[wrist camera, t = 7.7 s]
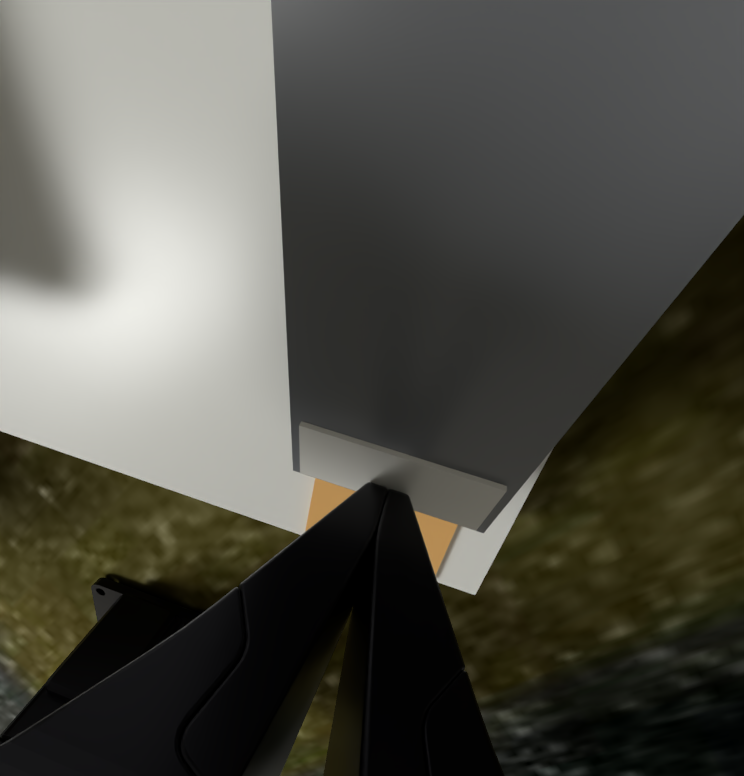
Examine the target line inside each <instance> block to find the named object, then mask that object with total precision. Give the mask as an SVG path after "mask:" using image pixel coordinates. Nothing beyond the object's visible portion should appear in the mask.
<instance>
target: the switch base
mask: <svg viewBox="0 0 744 776" xmlns="http://www.w3.org/2000/svg"><path fill="white" fill-rule="evenodd" d="M0 431H2V432H4V433H7V434H10V435H13V436H16V437H19V438H22V439H25V440H28V441H30V442H33V443H36V444H39V445H42V446H45V447H48V448H51V449H54V450H57V451H59V452H62V453H65V454H68V455H71V456H74V457H77V458H80V459H83V460H85V461H88V462H91V463H94V464H97V465H100V466H103V467H106V468H109V469H111V470H114V471H117V472H120V473H123V474H126V475H129V476H132V477H135V478H138V479H140V480H143V481H146V482H149V483H152V484H155V485H158V486H161V487H164V488H166V489H169V490H172V491H175V492H178V493H181V494H184V495H187V496H190V497H192V498H195V499H198V500H201V501H204V502H207V503H210V504H213V505H216V506H218V507H221V508H224V509H227V510H230V511H233V512H236V513H239V514H242V515H245V516H247V517H250V518H253V519H256V520H259V521H262V522H265V523H268V524H271V525H273V526H276V527H279V528H282V529H285V530H288V531H291V532H294V533H297V534H299V535H302V534H303V533H304V532H305V531H307V530H308V529H309V528H311V527H312V526H313V525H314V524H316V523H317V522H318V521H319V520H321V519H322V518H323V517H324V516H326V515H327V514H328V513H329V512H331V511H332V510H333V509H334V508H336V507H337V506H338V505H339V504H341V503H342V502H343V501H344V500H346V499H347V498H348V497H349V496H351V495H352V494H353V493H354V492H356V491H353V490H350V489H347V488H344V487H341V486H338V485H335V484H332V483H329V482H326V481H323V480H320V479H317V478H314V477H311V476H308V475H305V474H302V473H299V472H296V471H293V461H292V439H291V418H290V397H289V375H288V354H287V333H286V311H285V290H284V269H283V247H282V226H281V204H280V183H279V162H278V140H277V119H276V98H275V76H274V55H273V34H272V12H271V0H0ZM551 451H552V450H551ZM551 451H550V453H551ZM550 453H549V454H548V455H547V456H546V458H545V459H544V460H543V461H542V462H541V464H540V465H539V466H538V467H537V469H536V470H535V471H534V472H533V473H532V475H531V476H530V477H529V478H528V480H527V481H526V482H525V483H524V484H523V486H522V487H521V488H520V489H519V491H518V492H517V493H516V494H515V495H514V497H513V498H512V499H511V500H510V502H509V503H508V504H507V505H506V507H505V508H504V509H503V510H502V511H501V513H500V514H499V515H498V516H497V518H496V519H495V520H494V521H493V522H492V524H491V525H490V526H489V527H488V529H487V530H486V531H485V532H484V533H481V532H478V531H475V530H472V529H469V528H466V527H463V526H460V525H457V524H454V523H451V522H448V521H445V520H442V519H438V518H435V517H432V516H429V515H426V514H423V513H420V512H417V511H414V512H415V515H416V518H417V521H418V524H419V527H420V530H421V533H422V536H423V539H424V542H425V545H426V548H427V551H428V554H429V557H430V561H431V564H432V567H433V570H434V573H435V576H436V579H437V582H438V583H441V584H444V585H447V586H450V587H453V588H456V589H459V590H461V591H464V592H467V593H470V594H473V595H475V594H476V593H477V591H478V589H479V587H480V585H481V583H482V581H483V579H484V577H485V576H486V574H487V572H488V570H489V568H490V566H491V564H492V562H493V561H494V559H495V557H496V555H497V553H498V551H499V549H500V547H501V545H502V544H503V542H504V540H505V538H506V536H507V534H508V532H509V530H510V529H511V527H512V525H513V523H514V521H515V519H516V517H517V515H518V513H519V512H520V510H521V508H522V506H523V504H524V502H525V500H526V498H527V497H528V495H529V493H530V491H531V489H532V487H533V485H534V483H535V481H536V480H537V478H538V476H539V474H540V472H541V470H542V468H543V466H544V465H545V463H546V461H547V459H548V457H549V455H550Z"/></svg>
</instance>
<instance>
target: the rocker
mask: <svg viewBox="0 0 744 776" xmlns="http://www.w3.org/2000/svg"><path fill="white" fill-rule="evenodd" d="M271 12H272V34H273V55H274V76H275V98H276V119H277V140H278V162H279V183H280V204H281V226H282V247H283V269H284V290H285V311H286V333H287V354H288V375H289V397H290V418H291V439H292V461H293V471H296V472H299V473H302V474H305V475H308V476H311V477H314V478H317V479H320V480H323V481H326V482H329V483H332V484H335V485H338V486H341V487H344V488H347V489H350V490H353V491H357V490H358V489H359V488H361V487H362V486H363V485H364V484H366V483H368V482H372V483H375V484H378V485H381V486H384V487H386V488H387V489H388V490H389V489H393V490H396V491H399V492H402V493H405V494H407V495H409V497H410V499H411V502H412V505H413V508H414V511H417V512H420V513H423V514H426V515H429V516H432V517H435V518H438V519H442V520H445V521H448V522H451V523H454V524H457V525H460V526H463V527H466V528H469V529H472V530H475V531H478V532H481V533H484V532H485V531H486V530H487V529H488V527H489V526H490V525H491V524H492V522H493V521H494V520H495V519H496V518H497V516H498V515H499V514H500V513H501V511H502V510H503V509H504V508H505V507H506V505H507V504H508V503H509V502H510V500H511V499H512V498H513V497H514V495H515V494H516V493H517V492H518V491H519V489H520V488H521V487H522V486H523V484H524V483H525V482H526V481H527V480H528V478H529V477H530V476H531V475H532V473H533V472H534V471H535V470H536V469H537V467H538V466H539V465H540V464H541V462H542V461H543V460H544V459H545V458H546V456H547V455H548V454H549V453H550V451H551V450H552V449H553V448H554V447H555V445H556V444H557V443H558V442H559V440H560V439H561V438H562V437H563V435H564V434H565V433H566V432H567V431H568V429H569V428H570V427H571V426H572V424H573V423H574V422H575V421H576V420H577V418H578V417H579V416H580V415H581V413H582V412H583V411H584V410H585V409H586V407H587V406H588V405H589V404H590V402H591V401H592V400H593V399H594V398H595V396H596V395H597V394H598V393H599V391H600V390H601V389H602V388H603V387H604V385H605V384H606V383H607V382H608V380H609V379H610V378H611V377H612V375H613V374H614V373H615V372H616V371H617V369H618V368H619V367H620V366H621V364H622V363H623V362H624V361H625V360H626V358H627V357H628V356H629V355H630V353H631V352H632V351H633V350H634V349H635V347H636V346H637V345H638V344H639V342H640V341H641V340H642V339H643V338H644V336H645V335H646V334H647V333H648V331H649V330H650V329H651V328H652V327H653V325H654V324H655V323H656V322H657V320H658V319H659V318H660V317H661V315H662V314H663V313H664V312H665V311H666V309H667V308H668V307H669V306H670V304H671V303H672V302H673V301H674V300H675V298H676V297H677V296H678V295H679V293H680V292H681V291H682V290H683V289H684V287H685V286H686V285H687V284H688V282H689V281H690V280H691V279H692V278H693V276H694V275H695V274H696V273H697V271H698V270H699V269H700V268H701V267H702V265H703V264H704V263H705V262H706V260H707V259H708V258H709V257H710V255H711V254H712V253H713V252H714V251H715V249H716V248H717V247H718V246H719V244H720V243H721V242H722V241H723V240H724V238H725V237H726V236H727V235H728V233H729V232H730V231H731V230H732V229H733V227H734V226H735V225H736V224H737V222H738V221H739V220H740V219H741V218H742V216H743V215H744V0H271Z"/></svg>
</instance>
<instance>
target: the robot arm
mask: <svg viewBox="0 0 744 776" xmlns="http://www.w3.org/2000/svg"><path fill="white" fill-rule="evenodd" d="M91 589H92V594H93V599H94V605H95V610H96V615H97V621H98V622H97V623H96V625H95V626H94V627H93V628H92V629H91V630H90V631H89V633H88V634H87V635H86V636H85V637H84V638H83V640H82V641H81V642H80V643H79V644H78V645H77V646H76V648H75V649H74V650H73V651H72V652H71V653H70V654H69V656H68V657H67V658H66V659H65V660H64V661H63V663H62V664H61V665H60V666H59V667H58V668H57V669H56V671H55V672H54V673H53V674H52V675H51V676H50V678H49V679H48V680H47V682H46V683H45V684H44V685H43V686H42V688H41V689H40V690H39V691H38V692H37V693H36V695H35V696H34V697H33V698H32V699H31V700H30V701H29V703H28V704H27V705H26V706H25V707H24V708H23V710H22V711H21V712H20V713H19V714H18V715H17V716H16V718H15V719H14V720H13V721H12V722H11V723H10V725H9V726H8V727H7V728H6V729H5V730H4V731H3V733H2V734H1V735H0V776H280V774H281V772H282V769H283V767H284V765H285V762H286V760H287V758H288V756H289V753H290V751H291V749H292V746H293V744H294V742H295V739H296V737H297V735H298V732H299V730H300V728H301V726H302V723H303V721H304V719H305V716H306V714H307V712H308V709H309V707H310V705H311V703H312V700H313V698H314V696H315V693H316V691H317V689H318V686H319V684H320V682H321V679H322V677H323V675H324V673H325V670H326V668H327V666H328V663H329V661H330V659H331V656H332V654H333V652H334V649H335V647H336V645H337V643H338V640H339V638H340V636H341V633H342V631H343V629H344V626H345V624H346V622H347V619H348V617H349V615H350V612H351V610H352V607H353V610H352V615H351V620H350V625H349V631H348V637H347V643H346V649H345V654H344V660H343V666H342V672H341V677H340V683H339V689H338V695H337V700H336V706H335V712H334V718H333V723H332V729H331V735H330V741H329V746H328V752H327V758H326V764H325V769H324V775H323V776H504V773H503V771H502V768H501V766H500V763H499V761H498V758H497V756H496V754H495V751H494V749H493V746H492V743H491V740H490V738H489V735H488V732H487V729H486V726H485V724H484V721H483V718H482V715H481V712H480V709H479V707H478V704H477V701H476V698H475V695H474V692H473V689H472V685H471V682H470V679H469V676H468V673H467V672H466V671H464V669H465V665H464V662H463V659H462V656H461V652H460V649H459V646H458V643H457V640H456V637H455V634H454V631H453V628H452V625H451V622H450V619H449V616H448V613H447V610H446V606H445V603H444V600H443V597H442V594H441V591H440V588H439V585H438V582H437V579H436V576H435V573H434V570H433V567H432V564H431V561H430V557H429V554H428V551H427V548H426V545H425V542H424V539H423V536H422V533H421V530H420V527H419V524H418V521H417V518H416V515H415V512H414V508H413V505H412V502H411V499H410V497H409V495H407V494H405V493H402V492H399V491H396V490H393V489H389V490H388V489H387V488H386V487H384V486H381V485H378V484H375V483H372V482H368V483H366V484H364V485H363V486H362V487H361V488H359V489H358V490H357V491H356V492H354V493H353V494H352V495H351V496H349V497H348V498H347V499H346V500H344V501H343V502H342V503H341V504H339V505H338V506H337V507H336V508H334V509H333V510H332V511H331V512H329V513H328V514H327V515H326V516H324V517H323V518H322V519H321V520H319V521H318V522H317V523H316V524H314V525H313V526H312V527H311V528H309V529H308V530H307V531H305V532H304V533H303V534H302V535H300V536H299V537H298V538H297V539H295V540H294V541H293V542H292V543H290V544H289V545H288V546H287V547H285V548H284V549H283V550H282V551H280V552H279V553H278V554H277V555H275V556H274V557H273V558H272V559H270V560H269V561H268V562H267V563H265V564H264V565H263V566H262V567H260V568H259V569H258V570H257V571H255V572H254V573H253V574H252V575H250V576H249V577H248V578H247V579H245V580H244V581H243V582H241V583H240V585H239V588H238V587H235V588H234V589H232V590H231V591H230V592H229V593H227V594H226V595H225V596H224V597H222V598H221V599H220V600H219V601H217V602H216V603H215V604H214V605H212V606H211V607H210V608H208V609H207V610H206V611H204V612H203V613H202V614H199V613H197V612H194V611H191V610H189V609H186V608H183V607H181V606H178V605H175V604H173V603H170V602H167V601H165V600H162V599H159V598H157V597H154V596H151V595H149V594H146V593H144V592H141V591H138V590H136V589H133V588H130V587H128V586H125V585H122V584H120V583H117V582H114V581H112V580H109V579H106V578H99V579H98V580H97V581H96V582H95V583H94V584H93V585H92V588H91Z"/></svg>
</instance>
